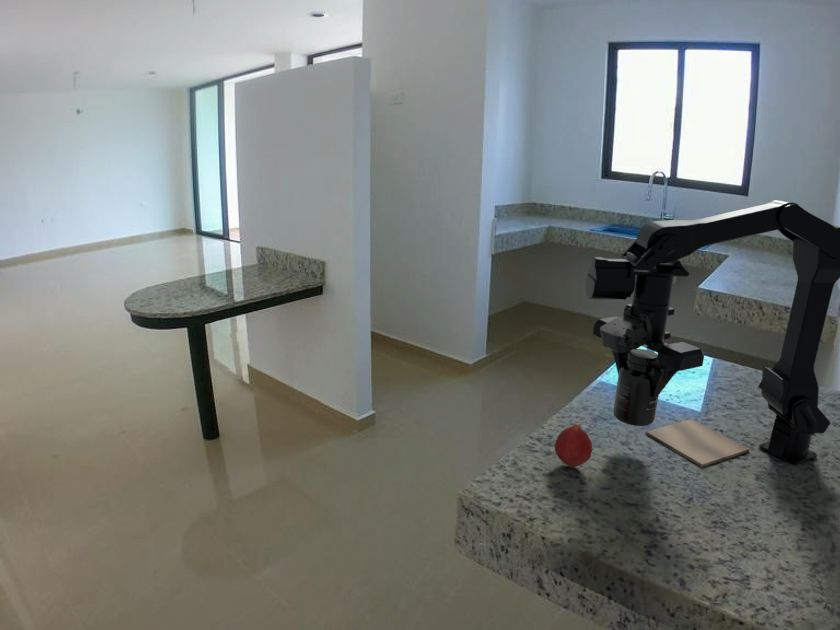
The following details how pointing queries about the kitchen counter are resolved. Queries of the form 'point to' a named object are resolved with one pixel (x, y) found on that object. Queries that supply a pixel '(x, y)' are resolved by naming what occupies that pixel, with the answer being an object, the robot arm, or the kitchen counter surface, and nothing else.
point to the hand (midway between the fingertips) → (637, 388)
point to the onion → (573, 446)
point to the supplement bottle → (636, 389)
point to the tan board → (697, 442)
